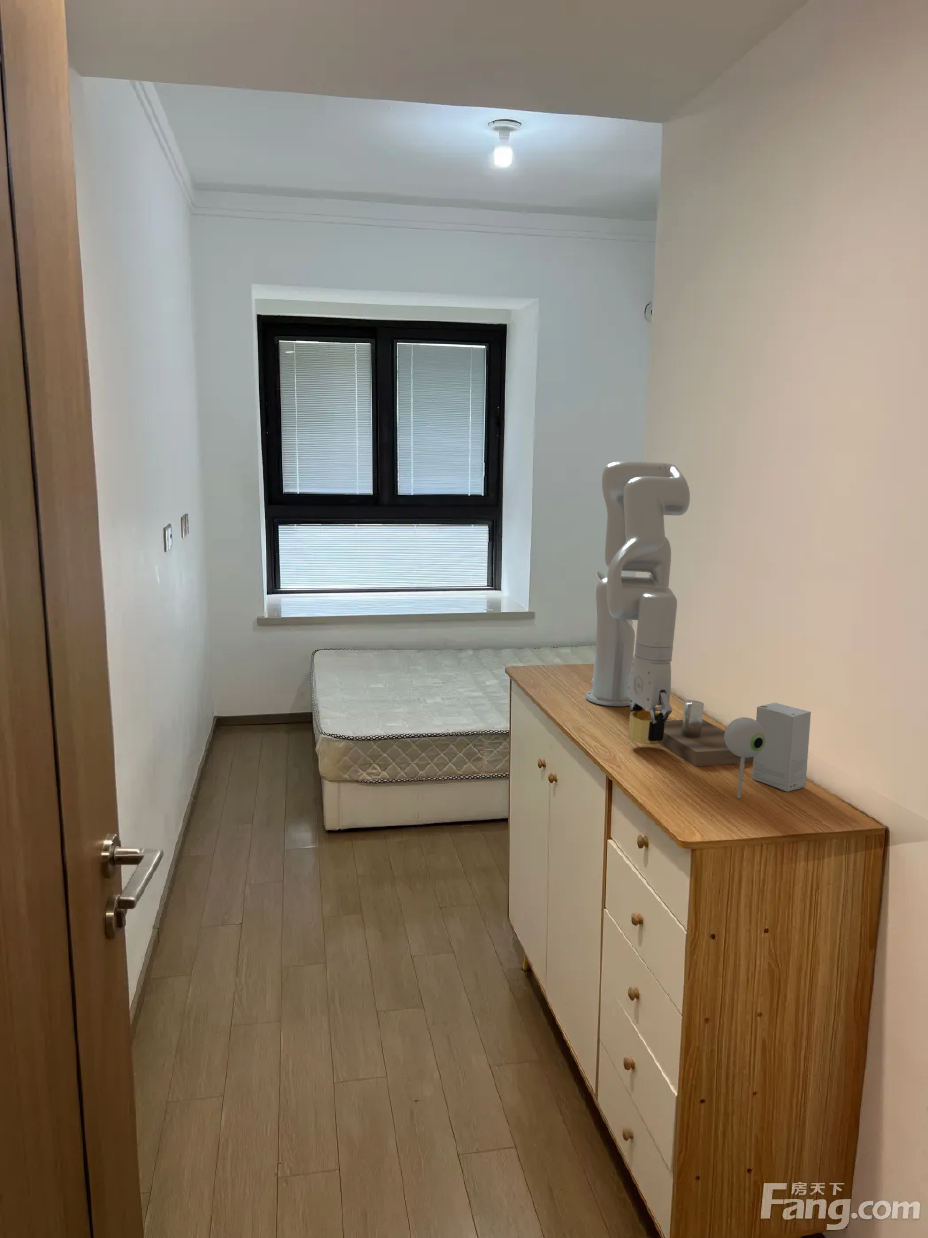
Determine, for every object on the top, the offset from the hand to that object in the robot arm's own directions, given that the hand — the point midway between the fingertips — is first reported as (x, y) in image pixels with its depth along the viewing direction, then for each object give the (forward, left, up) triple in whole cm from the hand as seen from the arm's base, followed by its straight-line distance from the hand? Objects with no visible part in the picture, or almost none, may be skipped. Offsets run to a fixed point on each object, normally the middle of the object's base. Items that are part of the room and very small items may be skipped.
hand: (645, 733), depth 176 cm
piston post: (+2, +10, 0) cm, 10 cm away
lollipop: (+28, +4, -4) cm, 28 cm away
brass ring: (0, 0, -1) cm, 1 cm away
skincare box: (+23, +16, -4) cm, 28 cm away
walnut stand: (+2, +12, -3) cm, 12 cm away
